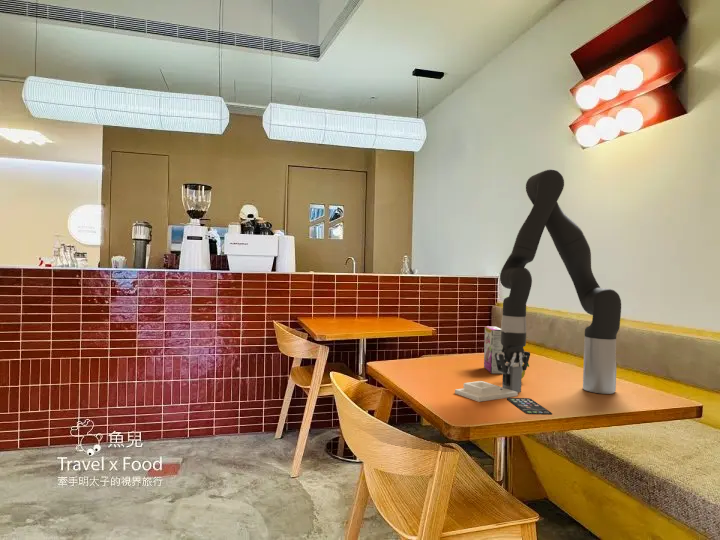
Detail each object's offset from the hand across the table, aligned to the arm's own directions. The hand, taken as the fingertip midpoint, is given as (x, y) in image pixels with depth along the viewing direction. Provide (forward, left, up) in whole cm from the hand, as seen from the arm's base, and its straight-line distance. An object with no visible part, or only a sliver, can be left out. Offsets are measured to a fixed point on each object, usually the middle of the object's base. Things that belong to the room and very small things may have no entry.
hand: (511, 384), depth 148 cm
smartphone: (+9, +14, -3) cm, 17 cm away
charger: (0, 0, -2) cm, 2 cm away
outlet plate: (+11, 0, -2) cm, 11 cm away
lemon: (-12, -9, -2) cm, 15 cm away
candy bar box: (-18, -25, -2) cm, 31 cm away
